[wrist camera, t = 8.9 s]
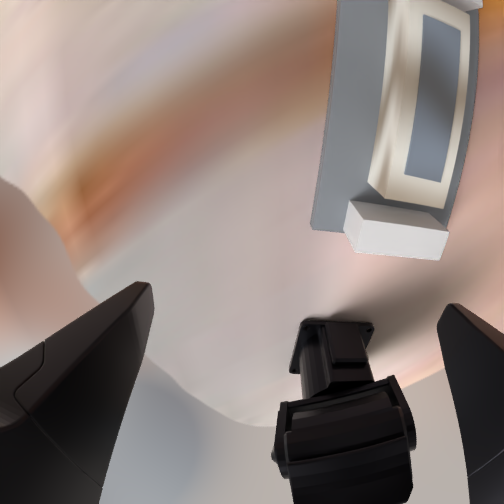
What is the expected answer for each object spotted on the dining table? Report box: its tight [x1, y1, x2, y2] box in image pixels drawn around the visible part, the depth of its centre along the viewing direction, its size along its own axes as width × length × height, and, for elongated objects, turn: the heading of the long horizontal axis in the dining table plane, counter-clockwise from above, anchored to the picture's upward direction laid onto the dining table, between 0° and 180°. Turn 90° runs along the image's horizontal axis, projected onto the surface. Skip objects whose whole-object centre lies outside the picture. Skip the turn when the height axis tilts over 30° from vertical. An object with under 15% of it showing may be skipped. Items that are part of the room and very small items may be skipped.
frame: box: [367, 0, 470, 209], centre depth 13 cm, size 12×4×3 cm, turn 175°
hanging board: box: [310, 0, 483, 261], centre depth 14 cm, size 19×10×4 cm, turn 175°
